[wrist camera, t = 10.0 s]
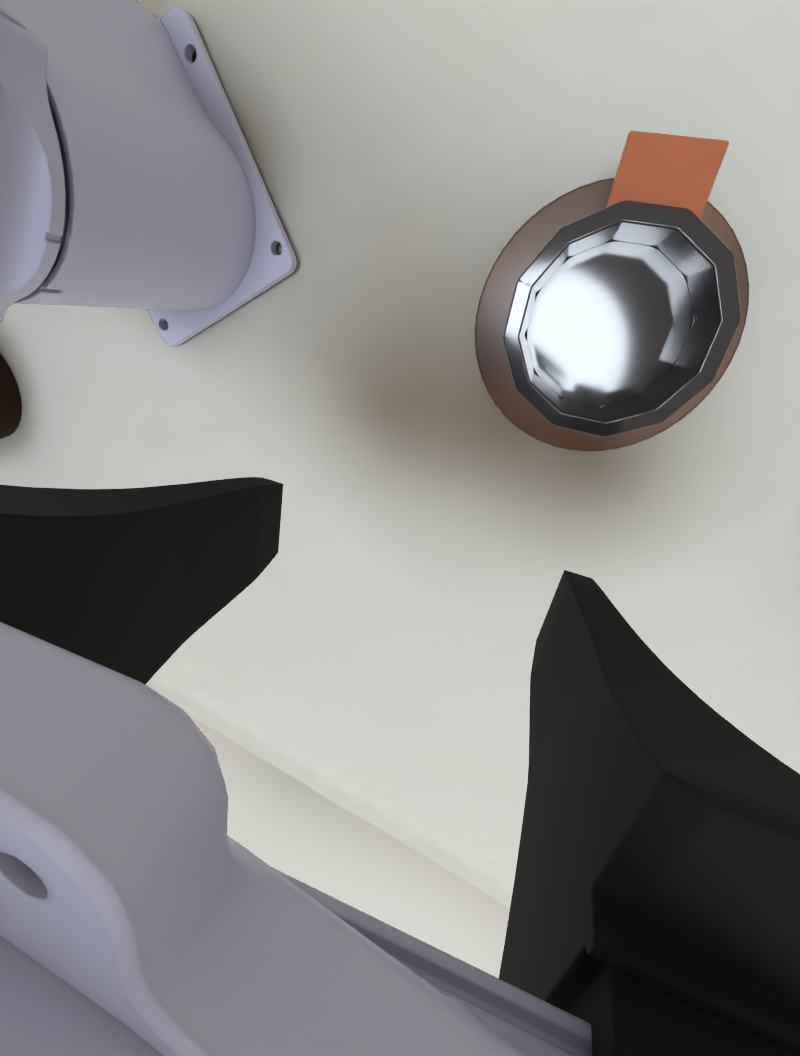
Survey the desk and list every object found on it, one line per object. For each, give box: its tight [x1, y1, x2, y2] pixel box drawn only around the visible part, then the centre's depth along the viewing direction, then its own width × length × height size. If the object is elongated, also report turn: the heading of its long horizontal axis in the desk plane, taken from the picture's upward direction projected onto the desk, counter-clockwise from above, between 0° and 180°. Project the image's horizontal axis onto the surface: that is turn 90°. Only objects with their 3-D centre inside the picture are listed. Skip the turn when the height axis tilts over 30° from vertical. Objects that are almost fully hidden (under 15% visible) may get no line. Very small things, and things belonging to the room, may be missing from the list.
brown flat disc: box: [475, 178, 749, 451], centre depth 17 cm, size 9×9×1 cm
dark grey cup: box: [503, 131, 741, 437], centre depth 14 cm, size 6×7×5 cm
